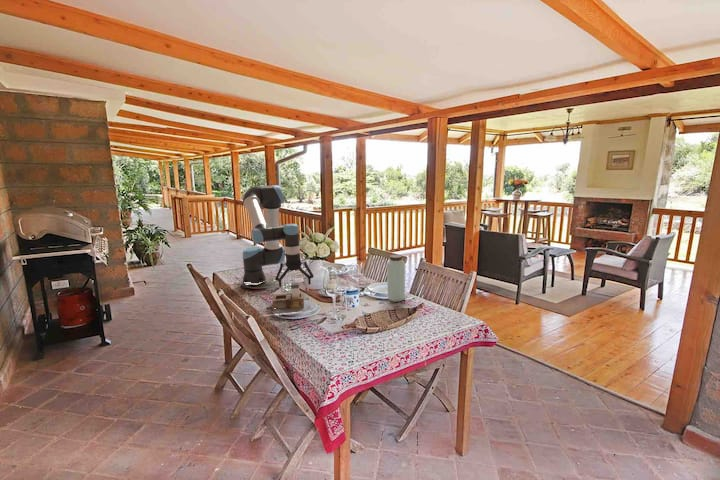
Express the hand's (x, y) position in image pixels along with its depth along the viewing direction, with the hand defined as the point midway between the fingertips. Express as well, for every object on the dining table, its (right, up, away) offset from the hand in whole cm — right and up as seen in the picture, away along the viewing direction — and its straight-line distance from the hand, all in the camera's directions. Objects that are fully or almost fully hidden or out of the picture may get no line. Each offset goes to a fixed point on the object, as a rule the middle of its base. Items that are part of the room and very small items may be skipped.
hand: (295, 291), depth 192 cm
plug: (0, -8, +2) cm, 8 cm away
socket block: (-4, -9, +1) cm, 10 cm away
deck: (-1, -6, +13) cm, 14 cm away
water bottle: (+55, -6, +8) cm, 56 cm away
